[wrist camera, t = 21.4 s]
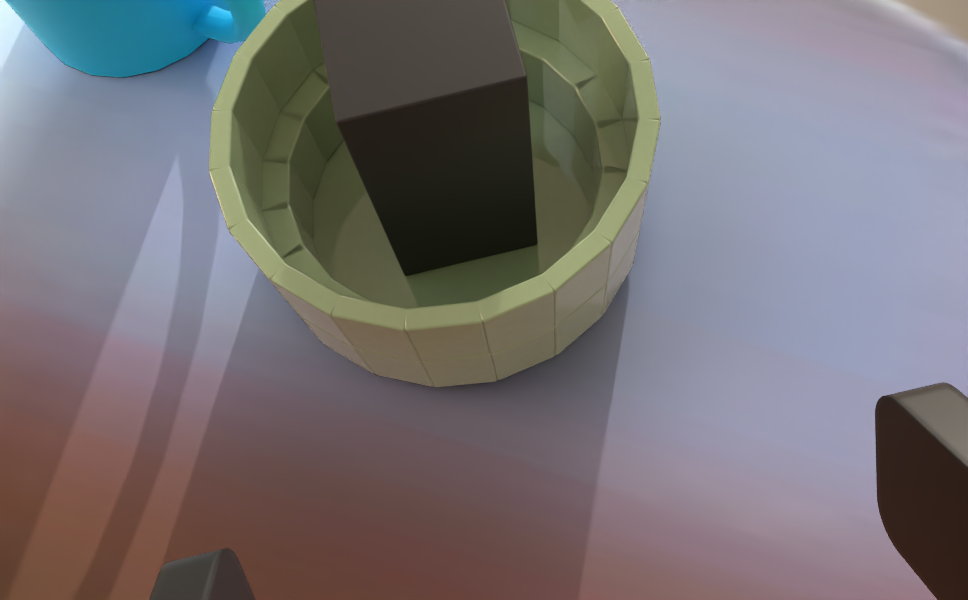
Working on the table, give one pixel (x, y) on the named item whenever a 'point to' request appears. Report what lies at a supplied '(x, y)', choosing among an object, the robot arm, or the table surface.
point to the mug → (134, 30)
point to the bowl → (359, 233)
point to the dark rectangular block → (434, 123)
